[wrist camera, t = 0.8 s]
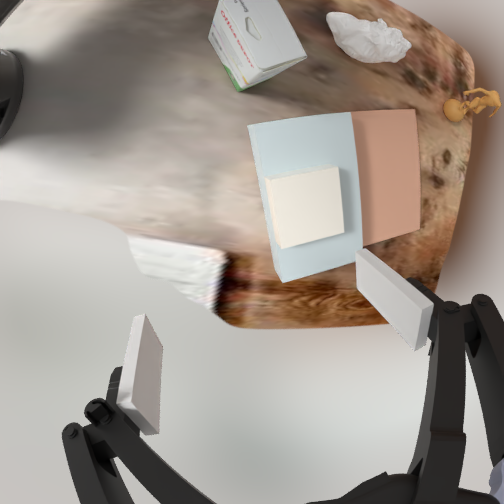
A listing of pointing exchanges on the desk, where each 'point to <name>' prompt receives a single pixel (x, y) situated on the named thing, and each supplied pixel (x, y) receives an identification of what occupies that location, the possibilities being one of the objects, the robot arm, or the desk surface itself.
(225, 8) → the ink box
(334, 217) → the coaster
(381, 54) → the white tied bag
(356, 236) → the plate
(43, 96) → the desk surface
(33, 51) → the desk surface
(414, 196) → the mat
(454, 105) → the figurine
